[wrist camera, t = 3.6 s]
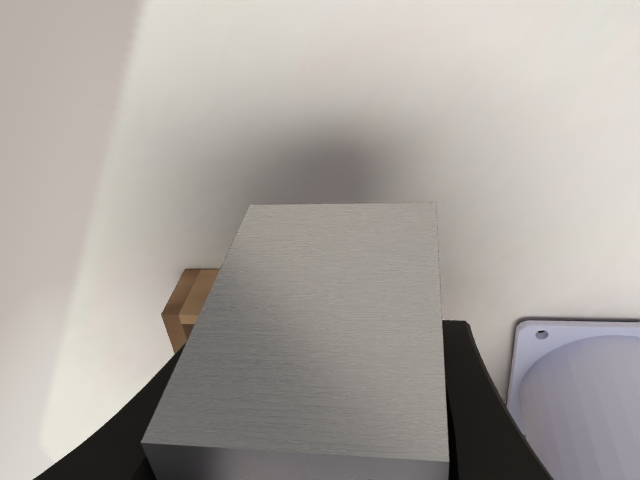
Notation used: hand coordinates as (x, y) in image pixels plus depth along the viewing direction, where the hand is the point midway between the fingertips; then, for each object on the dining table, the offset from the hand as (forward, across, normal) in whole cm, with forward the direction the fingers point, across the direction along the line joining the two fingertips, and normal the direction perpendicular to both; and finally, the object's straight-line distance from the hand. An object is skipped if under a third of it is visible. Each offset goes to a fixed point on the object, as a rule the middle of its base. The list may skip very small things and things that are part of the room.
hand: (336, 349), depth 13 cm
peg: (+2, 0, 0) cm, 3 cm away
